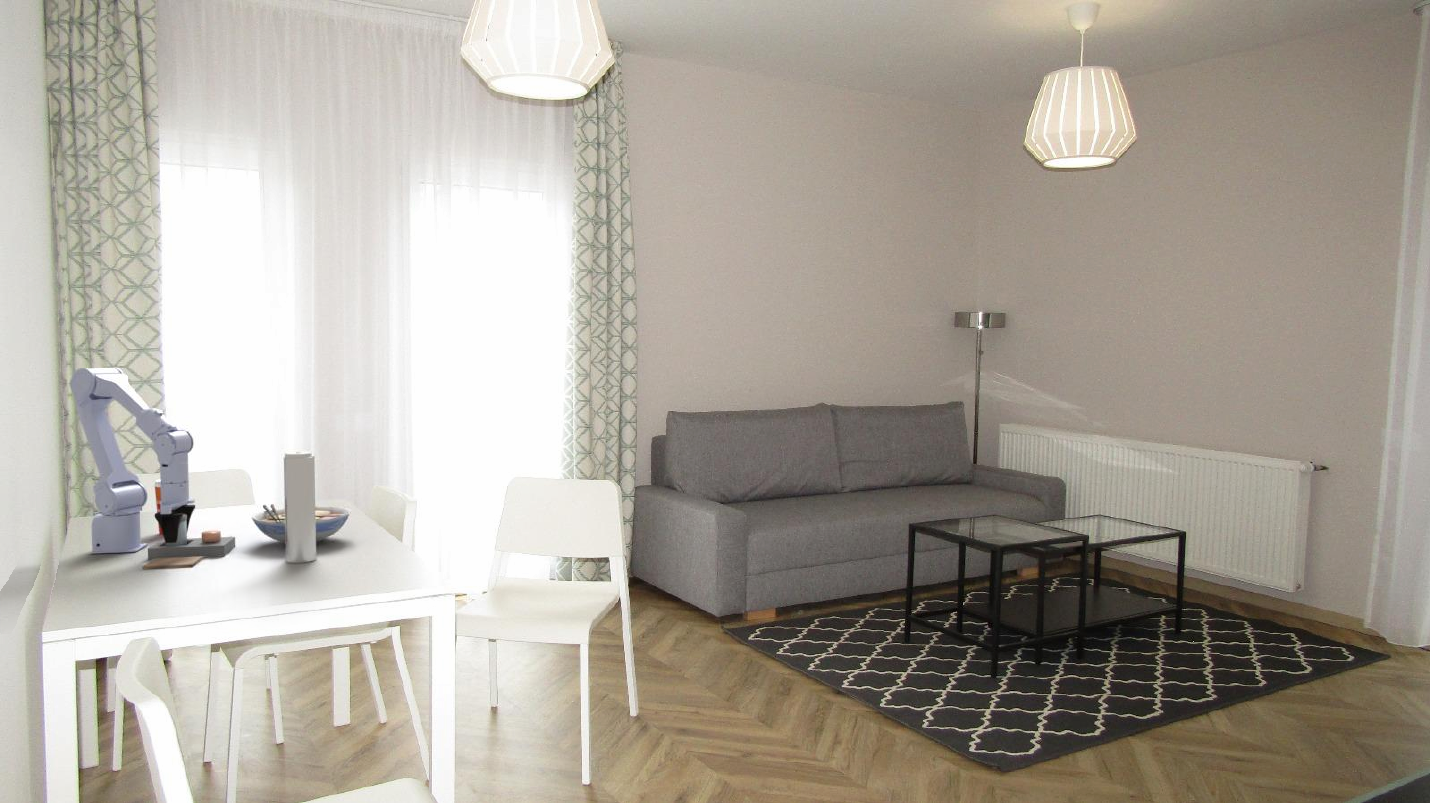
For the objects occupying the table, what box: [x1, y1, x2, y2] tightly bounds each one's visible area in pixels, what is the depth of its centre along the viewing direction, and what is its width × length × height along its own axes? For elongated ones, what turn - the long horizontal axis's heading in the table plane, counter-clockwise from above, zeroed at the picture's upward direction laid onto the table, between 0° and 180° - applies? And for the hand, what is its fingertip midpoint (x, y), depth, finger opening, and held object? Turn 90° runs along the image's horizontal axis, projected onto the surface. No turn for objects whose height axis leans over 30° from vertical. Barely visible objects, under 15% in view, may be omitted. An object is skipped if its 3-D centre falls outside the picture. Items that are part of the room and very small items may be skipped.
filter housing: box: [147, 536, 236, 560], centre depth 220 cm, size 16×10×2 cm, turn 104°
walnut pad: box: [142, 556, 204, 570], centre depth 210 cm, size 10×8×1 cm
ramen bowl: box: [251, 504, 352, 544], centre depth 233 cm, size 25×23×8 cm
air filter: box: [283, 451, 317, 564], centre depth 213 cm, size 6×6×25 cm
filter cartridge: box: [165, 514, 188, 546], centre depth 219 cm, size 5×5×9 cm
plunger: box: [201, 530, 222, 542], centre depth 221 cm, size 4×4×2 cm
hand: (176, 539), depth 219 cm, fingers open, 7 cm apart
